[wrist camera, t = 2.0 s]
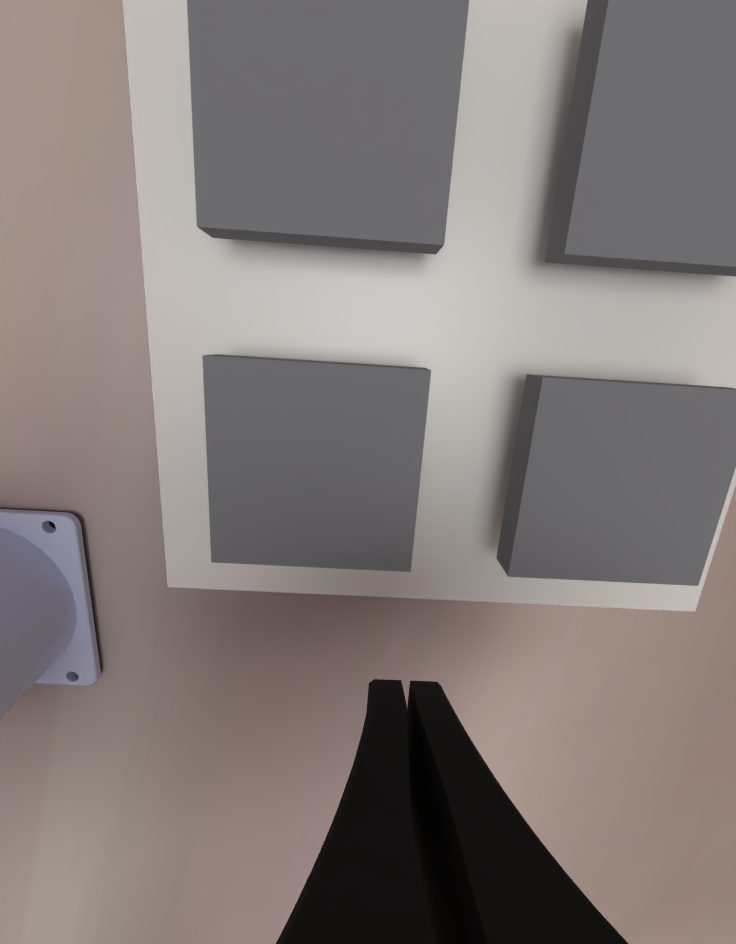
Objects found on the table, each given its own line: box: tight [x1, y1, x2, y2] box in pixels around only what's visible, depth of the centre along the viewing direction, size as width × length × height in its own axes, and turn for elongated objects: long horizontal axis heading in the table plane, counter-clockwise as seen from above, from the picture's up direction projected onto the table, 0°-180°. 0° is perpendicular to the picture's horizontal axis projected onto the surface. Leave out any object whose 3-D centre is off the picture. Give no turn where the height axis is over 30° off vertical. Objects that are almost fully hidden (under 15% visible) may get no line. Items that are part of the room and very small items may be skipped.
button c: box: [187, 0, 469, 254], centre depth 11 cm, size 6×6×3 cm
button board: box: [123, 0, 736, 611], centre depth 15 cm, size 20×20×2 cm
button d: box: [545, 0, 736, 277], centre depth 12 cm, size 6×6×3 cm
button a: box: [202, 354, 431, 572], centre depth 14 cm, size 6×6×3 cm
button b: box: [496, 374, 736, 586], centre depth 14 cm, size 6×6×3 cm
